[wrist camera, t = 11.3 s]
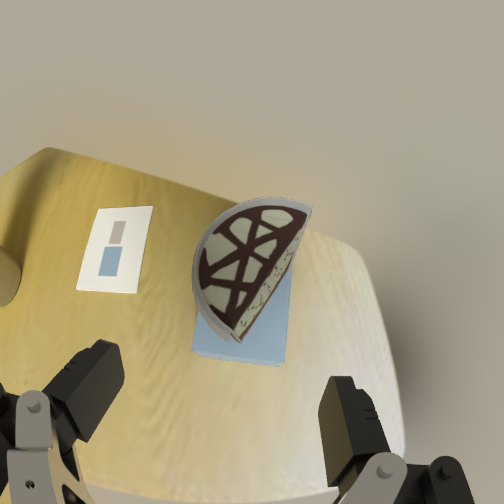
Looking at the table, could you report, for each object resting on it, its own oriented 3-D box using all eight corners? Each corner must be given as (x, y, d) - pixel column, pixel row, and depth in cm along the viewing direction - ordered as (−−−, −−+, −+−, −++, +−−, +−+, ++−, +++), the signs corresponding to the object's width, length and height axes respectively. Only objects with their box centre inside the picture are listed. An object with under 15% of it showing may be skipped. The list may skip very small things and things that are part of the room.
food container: (248, 234, 31) (249, 171, 22) (295, 260, 30) (315, 202, 21) (181, 321, 26) (150, 284, 17) (232, 356, 25) (225, 336, 16)
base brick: (199, 356, 29) (191, 349, 25) (219, 250, 36) (216, 228, 31) (278, 366, 29) (284, 362, 24) (287, 258, 36) (293, 237, 31)
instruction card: (76, 289, 32) (75, 289, 32) (99, 209, 39) (98, 208, 39) (137, 293, 32) (136, 292, 32) (153, 206, 39) (153, 205, 39)
